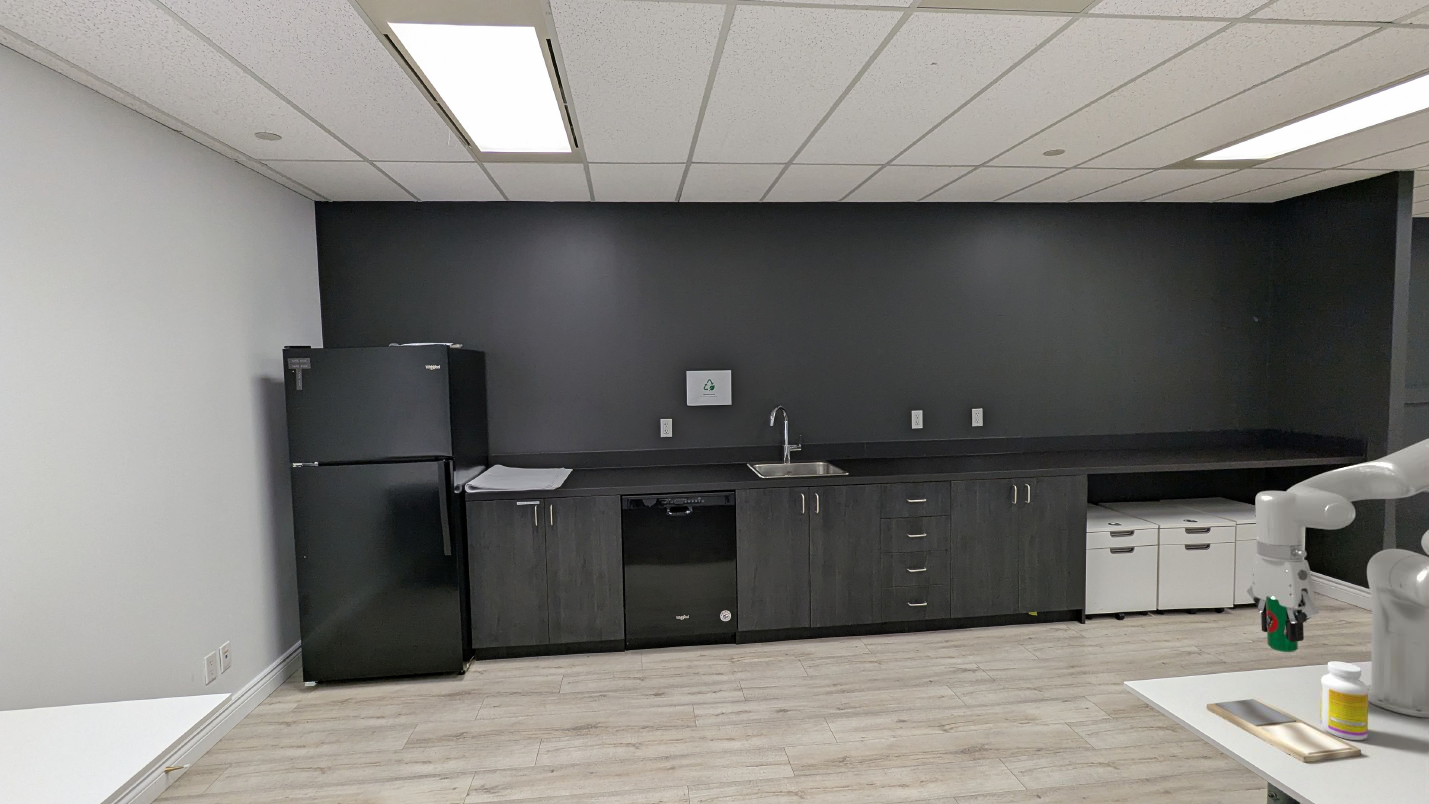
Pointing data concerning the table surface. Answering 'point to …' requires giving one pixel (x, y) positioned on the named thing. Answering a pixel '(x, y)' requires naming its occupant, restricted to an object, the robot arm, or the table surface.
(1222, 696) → the table surface
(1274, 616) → the soda can
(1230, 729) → the table surface
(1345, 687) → the supplement bottle
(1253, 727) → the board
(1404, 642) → the robot arm
